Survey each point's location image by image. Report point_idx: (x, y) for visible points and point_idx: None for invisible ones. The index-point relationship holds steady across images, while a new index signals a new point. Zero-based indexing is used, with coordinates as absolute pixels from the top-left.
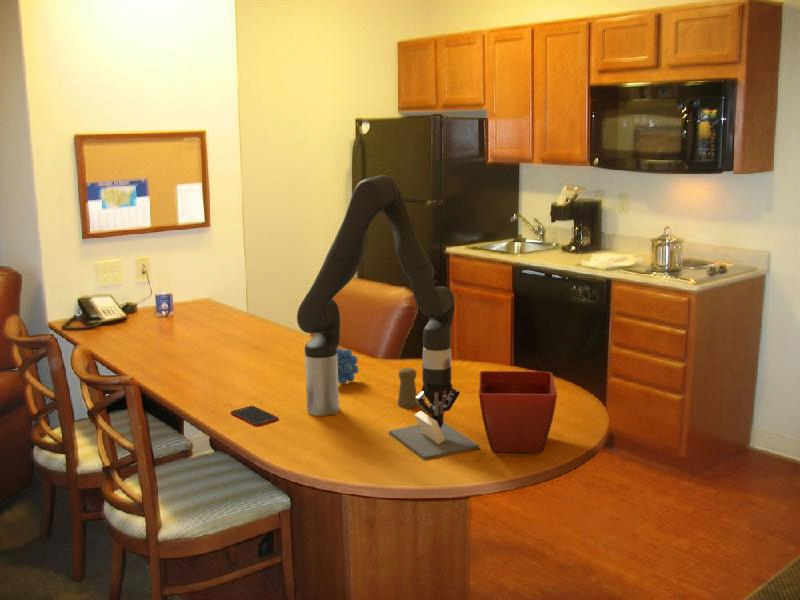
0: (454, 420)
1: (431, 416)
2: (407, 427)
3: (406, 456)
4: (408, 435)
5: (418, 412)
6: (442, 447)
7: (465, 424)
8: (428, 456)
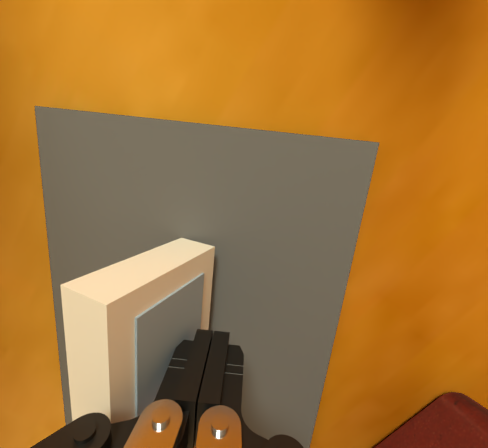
0: (463, 151)
1: (159, 391)
2: (152, 124)
3: (29, 365)
4: (104, 228)
5: (88, 302)
6: None
7: (459, 234)
8: None
